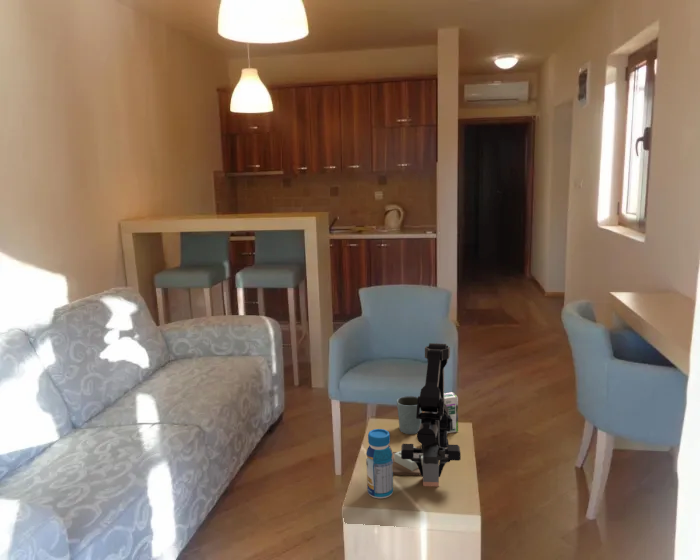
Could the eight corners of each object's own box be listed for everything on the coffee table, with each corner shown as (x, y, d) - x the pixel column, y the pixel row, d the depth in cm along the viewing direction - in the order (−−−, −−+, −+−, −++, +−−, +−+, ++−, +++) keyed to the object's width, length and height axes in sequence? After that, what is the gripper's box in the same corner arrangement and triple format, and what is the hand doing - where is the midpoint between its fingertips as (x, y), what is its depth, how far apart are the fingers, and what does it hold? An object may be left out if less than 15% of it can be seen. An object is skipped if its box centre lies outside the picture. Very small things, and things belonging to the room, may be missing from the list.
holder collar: (394, 461, 195) (394, 453, 194) (412, 453, 200) (412, 445, 200) (412, 470, 188) (412, 462, 188) (430, 462, 193) (429, 454, 193)
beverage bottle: (385, 502, 172) (384, 441, 169) (362, 495, 177) (360, 435, 173) (398, 489, 179) (397, 430, 176) (375, 482, 184) (373, 425, 180)
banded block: (422, 477, 186) (422, 455, 184) (438, 478, 185) (438, 455, 184) (423, 486, 181) (422, 462, 179) (438, 486, 180) (438, 463, 179)
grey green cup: (414, 437, 215) (413, 407, 213) (392, 430, 221) (391, 402, 219) (427, 427, 223) (427, 399, 221) (405, 421, 229) (405, 393, 227)
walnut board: (392, 454, 202) (392, 451, 202) (432, 455, 200) (432, 452, 200) (391, 474, 188) (391, 471, 188) (433, 475, 187) (433, 472, 187)
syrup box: (444, 434, 217) (444, 398, 214) (438, 427, 222) (438, 393, 220) (458, 432, 218) (458, 396, 216) (451, 425, 224) (451, 391, 221)
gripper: (400, 442, 173) (401, 488, 176) (462, 443, 171) (461, 490, 174) (401, 426, 184) (402, 470, 187) (459, 427, 182) (459, 472, 185)
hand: (430, 476), depth 183 cm, fingers open, 5 cm apart
